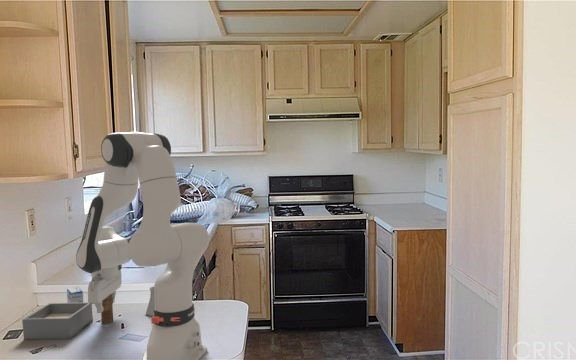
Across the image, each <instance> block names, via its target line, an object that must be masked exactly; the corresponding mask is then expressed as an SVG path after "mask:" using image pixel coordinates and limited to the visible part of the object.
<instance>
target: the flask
mask: <svg viewBox="0 0 576 360" xmlns="http://www.w3.org/2000/svg"><path fill="white" fill-rule="evenodd" d="M149 291H150V298H149V299H148V300H149V302H148V305H147V309H146V311H145V316H150V317H153V313H154V308H155V295H154V286H150V287H149Z"/></svg>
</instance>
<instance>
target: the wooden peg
mask: <svg viewBox="0 0 576 360" xmlns="http://www.w3.org/2000/svg"><path fill="white" fill-rule="evenodd" d="M113 305H114V304H112V294H110V295H109V296H108V297H107V298H105V299H104V300H103V301H102V307H104V311H103V312H102V313H100V315H101V324H103V325H104V324H105V325H106V324H107V325H108V324H111V323H114V311H113V309H114V308H113V307H114V306H113Z"/></svg>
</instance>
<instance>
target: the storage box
mask: <svg viewBox="0 0 576 360" xmlns="http://www.w3.org/2000/svg"><path fill="white" fill-rule="evenodd" d="M21 321H22V333H23V334H22V335H23V340H24V339H25V340H24V341H27V340H26V339H30V340H31V341H33V340H34V341H35V340H36V339H38V340H39V339H40V340H41V341H42V340H71V339H72V338H73V337H75V336H76V335H78V333H80V332H81V331H82V330H84V329H85V328H86V327H87V326H88V325H90V324H91V323H92V322H93V321H94V318H93V304H89V302H88V301H87V302H84V303H68V302H51V303H49V302H48V303H47V304H46V305H43V306H42V307H40V308H39V309H38V310H36V311H34V312H32V313H31V314H29V315H28V316H26V317H24V318H22V320H21ZM32 339H33V340H32ZM38 340H37V341H38Z"/></svg>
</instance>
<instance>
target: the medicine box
mask: <svg viewBox="0 0 576 360" xmlns="http://www.w3.org/2000/svg"><path fill="white" fill-rule="evenodd" d="M66 297H67V298H66V299H67V303H85V302H84V291H83V290H82V289H81V288H80V287H79V286H75V287H68V288H66Z"/></svg>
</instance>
